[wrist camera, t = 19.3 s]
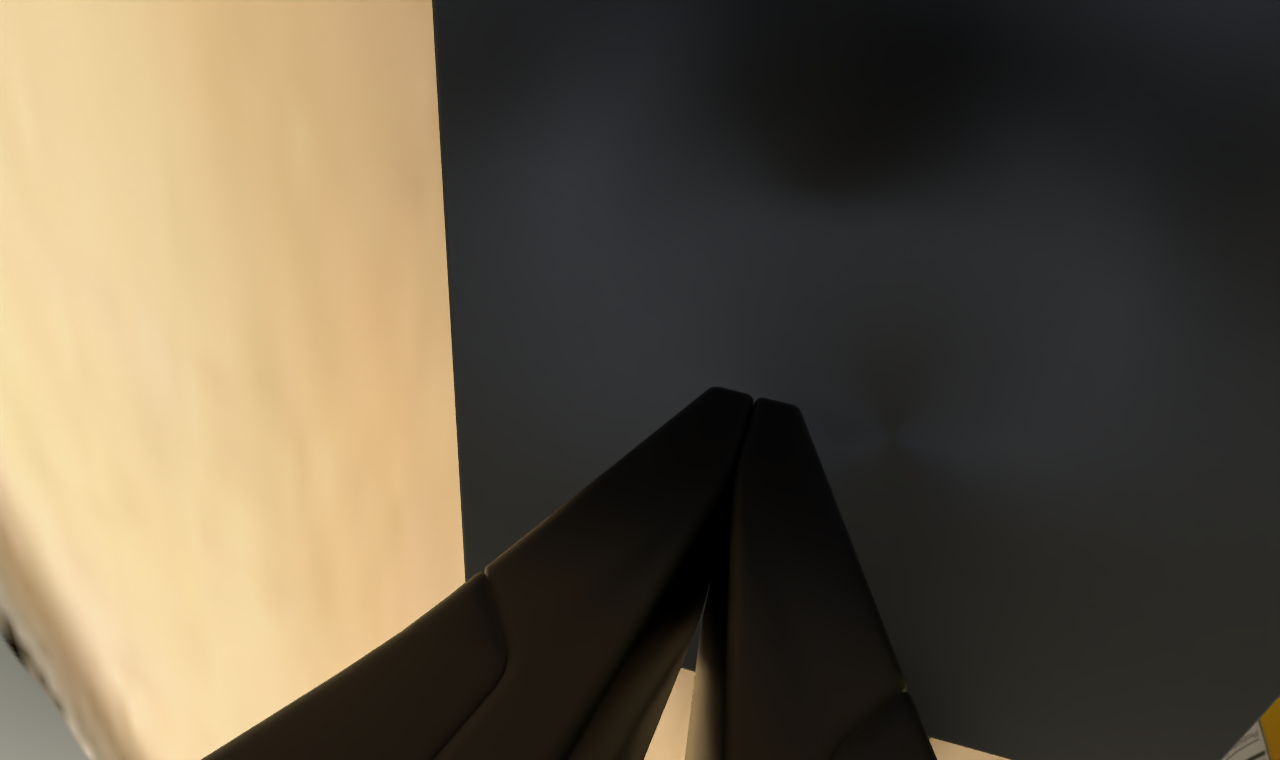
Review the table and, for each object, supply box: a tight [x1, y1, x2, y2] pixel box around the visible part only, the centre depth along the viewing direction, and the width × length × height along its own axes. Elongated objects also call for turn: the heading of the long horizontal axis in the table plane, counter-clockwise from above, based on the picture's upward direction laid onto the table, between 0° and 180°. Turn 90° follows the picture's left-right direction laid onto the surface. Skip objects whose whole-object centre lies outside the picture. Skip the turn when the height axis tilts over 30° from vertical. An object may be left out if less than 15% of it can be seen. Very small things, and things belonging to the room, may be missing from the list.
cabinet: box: [432, 0, 1280, 760], centre depth 16 cm, size 13×13×9 cm
